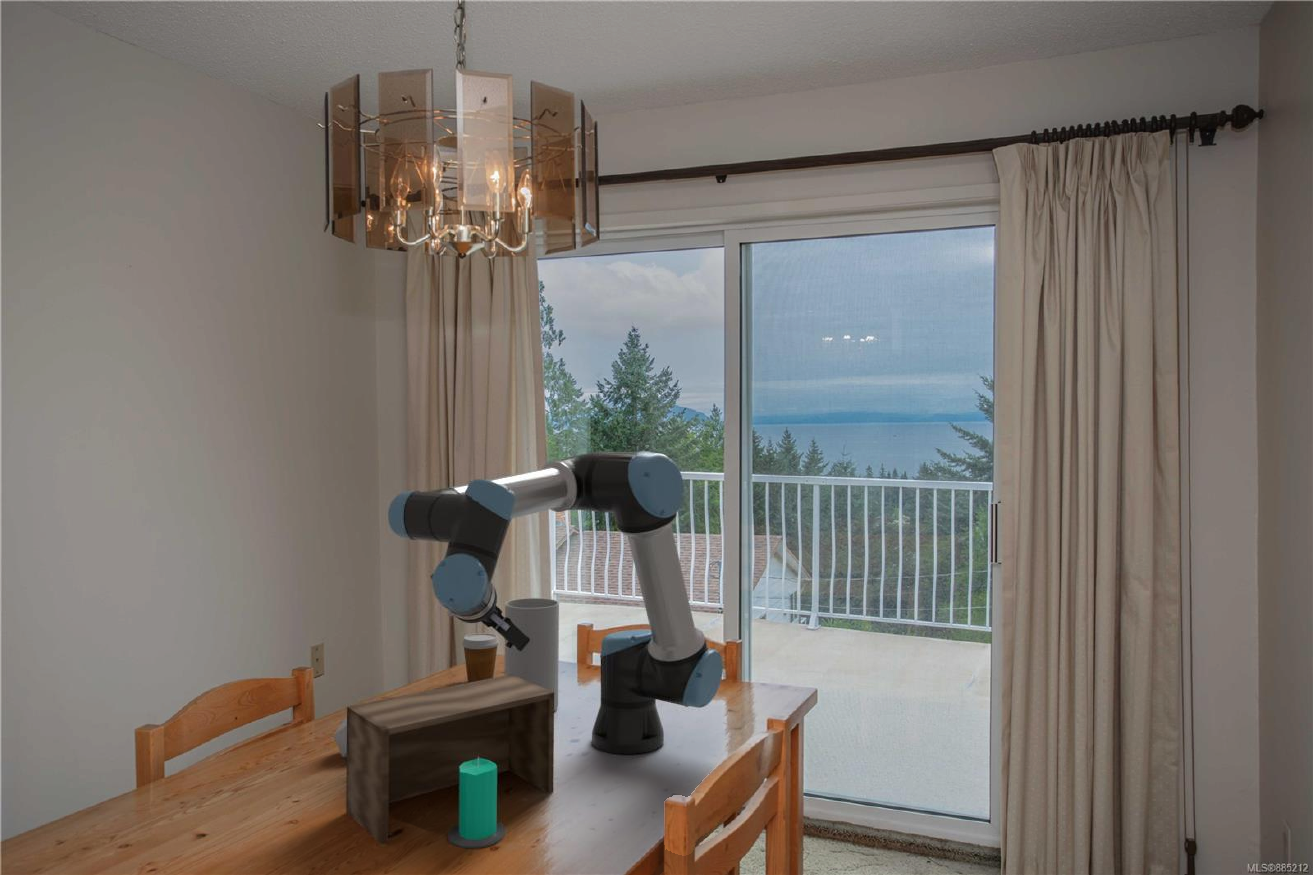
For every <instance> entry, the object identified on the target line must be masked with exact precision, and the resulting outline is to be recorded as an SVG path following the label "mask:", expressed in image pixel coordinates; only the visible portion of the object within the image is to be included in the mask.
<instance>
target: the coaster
mask: <svg viewBox="0 0 1313 875" xmlns="http://www.w3.org/2000/svg"><path fill="white" fill-rule="evenodd" d="M505 836H506V827H505V826H504V824H502V823H501V822H499V821H497V831H496V832H495V833H494V834H493V835H492V836H489V837H487V838H484V839H477V840H472V839H465V838H463V837H461V836H460V834H459V823H456V824H455V825H454V826H452V827H451V828H450V829H449V830H448V832H447V839H448V840H447V841H448V842H449V843H450V844H451V845H452V846H454V847H456V848H457V847H458V848H460V849H461V848H462V849H469V850H470V849H471V850H472V849H481V848H482V849H483V848H487V847H489V846H493V845H496V844H497V843H499V842H500V841H502V840H503V839H504V837H505Z"/></svg>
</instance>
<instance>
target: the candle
mask: <svg viewBox="0 0 1313 875" xmlns="http://www.w3.org/2000/svg"><path fill="white" fill-rule="evenodd" d="M497 787H498V773H497V766H496V764H495V763H493V762H491V761H489V760H486V759H482V758H479V756H478V759H475V760H470V761H467V762H464V763H462V764H461V765H460V766H459V784H458V824H459V834H460V836H461V837H463V838H465V839H472V840H477V839H484V838H487V837H489V836H492V835H493V834H494V833H495V832H496V831H497V822H498V821H497V819H498V818H497V817H498V815H497V814H498V813H497V808H498V805H497V804H498V803H497V802H498V788H497Z"/></svg>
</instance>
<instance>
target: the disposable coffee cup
mask: <svg viewBox="0 0 1313 875" xmlns="http://www.w3.org/2000/svg"><path fill="white" fill-rule="evenodd" d="M499 643H500V640H499V637H498V635H497V634H494V633H490V632H489V633H488V632H487V633H486V632H481V633H480V632H479V633H478V632H477V633H471V634H467V635H465V636H464V637H463V639H462V642H461V645H462V647H463V650H464V660H465V662H464V663H465V670H466V676H467V683H470V682H475V681H481V680H486V679H491V678H494V675H495V668H496V667H495V666H496V659H497V652H498V646H499Z"/></svg>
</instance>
